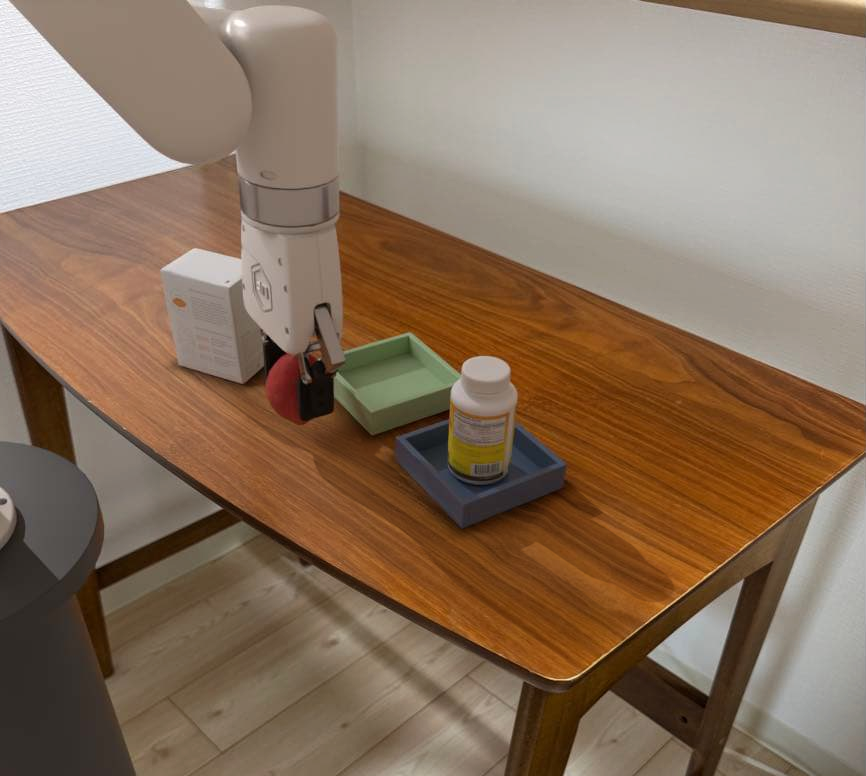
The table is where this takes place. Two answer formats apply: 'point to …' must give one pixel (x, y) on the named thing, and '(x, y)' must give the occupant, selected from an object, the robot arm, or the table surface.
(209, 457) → the table surface
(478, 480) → the supplement bottle
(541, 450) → the slate tray
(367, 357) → the green tray
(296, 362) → the onion
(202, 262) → the small box
